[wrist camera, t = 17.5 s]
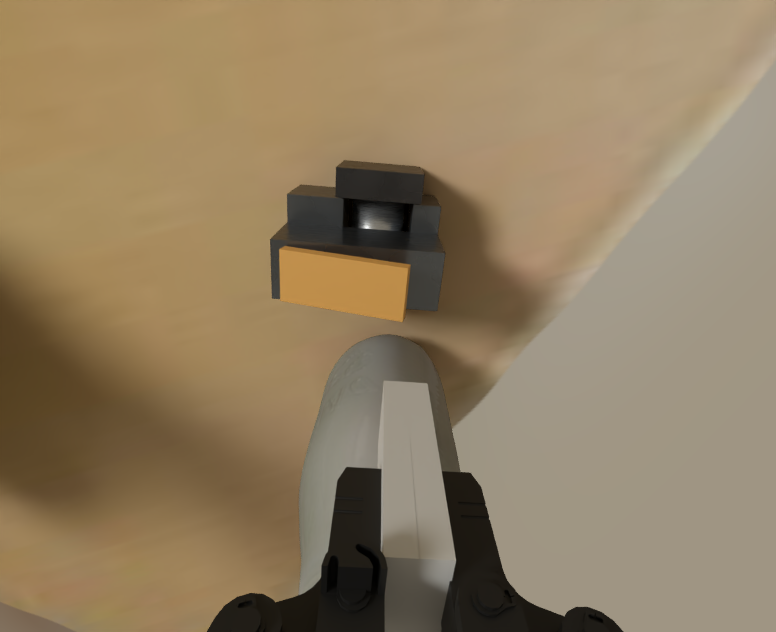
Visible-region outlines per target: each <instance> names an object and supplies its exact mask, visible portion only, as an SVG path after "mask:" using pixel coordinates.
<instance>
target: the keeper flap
mask: <svg viewBox="0 0 776 632" xmlns="http://www.w3.org/2000/svg"><path fill="white" fill-rule="evenodd" d="M279 264H280V301H284V302H290V303H296V304H302V305H307V306H313V307H319V308H324V309H330V310H336V311H342V312H347V313H353V314H359V315H365V316H370V317H376V318H382V319H388V320H393V321H399V322H403V320H404V318H405V314H406V304H407V295H408V285H409V276H410V267H411V265H410V264H403V263H396V262H389V261H383V260H376V259H369V258H363V257H356V256H349V255H343V254H336V253H329V252H322V251H316V250H309V249H302V248H296V247H289V246H284V247H282V248H280V249H279Z"/></svg>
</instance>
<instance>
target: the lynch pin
mask: <svg viewBox="0 0 776 632" xmlns="http://www.w3.org/2000/svg"><path fill="white" fill-rule="evenodd" d="M423 184H424V173H423V171H422V170H421V168H420V167H416V166H405V165H393V164H381V163H370V162H358V161H347V160H344V161H343V162H342V163H341V164H339V165H338V166H337V167H336V193H335V197H338V198H350V199H353V211H352V227H354V228H366V229H378V230H390V231H402V229H403V218H404V208H405V203H410V204H421V202H422V193H423Z"/></svg>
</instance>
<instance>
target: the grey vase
mask: <svg viewBox="0 0 776 632" xmlns="http://www.w3.org/2000/svg"><path fill="white" fill-rule="evenodd" d="M384 381H399V382H415V383H427V384H428V390H429V396H430V403H431V409H432V415H433V421H434V427H435V433H436V440H437V446H438V452H439V458H440V464H441V470H442V471H448V472H460V468H459V462H458V456H457V452H456V447H455V442H454V438H453V433H452V428H451V423H450V419H449V414H448V410H447V405H446V400H445V395H444V391H443V387H442V384H441V380H440V378H439V375H438V373H437V370H436V368H435V366H434V364H433V362H432V361H431V359H430V358H429V356H428V355H427V354H426V352H425V351H424V350H423V348H422V347H421V346H419V345H417V344H416V343H414V342H412V341H410V340H408V339H406V338H404V337H401V336H397V335H390V334H387V335H379V336H374V337H371V338H368V339H365V340H363V341H361V342H359V343H357V344H355V345H354V346H352V347H351V348H350V349H349V350H348V351H346V352H345V353H344V354H343V355H342V357H341V358H340V359H339V360H338V362H337V363H336V364H335V366H334V368H333V369H332V371H331V373H330V375H329V378H328V380H327V383H326V386H325V390H324V393H323V397H322V401H321V405H320V409H319V413H318V416H317V420H316V423H315V426H314V429H313V432H312V436H311V439H310V443H309V446H308V450H307V454H306V458H305V462H304V466H303V470H302V476H301V482H300V490H299V531H300V550H301V572H300V584H299V595H301V594H303V593H305V592H306V591H308V590H309V589H311V588H312V587H313V586H314V585H315V584H316V583H317V582H318V581H319V580H320V578H321V565H322V563H323V560H324V557H325V554H326V553H327V552H328V547H329V540H330V532H331V524H332V517H333V509H334V502H335V494H336V486H337V480H338V479H339V477H340V476H341V474H342V473H343V471H344V470H345V468H346V467H359V468H376V469H378V438H379V427H380V416H381V405H382V394H383V383H384ZM441 632H442V629H441Z"/></svg>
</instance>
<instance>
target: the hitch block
mask: <svg viewBox="0 0 776 632" xmlns="http://www.w3.org/2000/svg"><path fill="white" fill-rule="evenodd" d="M335 193H336V187H324V186H312V185H299V186H298V187H296V188H295V189H294V190H292V191H291V192H289V193H288V194H287V212H288V222H287V223H286V224H285V225H284V226H283V227H282V228H281V229H280V230H279V231H278V232H277V233H276V234H275V235H274V236H273V237H272V238H271V239H270V249H271V281H272V298H273V299H280V264H279V249H280V248H282V247H284V246H289V247H296V248H302V249H309V250H316V251H322V252H329V253H336V254H343V255H349V256H356V257H363V258H369V259H376V260H383V261H389V262H396V263H403V264H410V265H411V267H410V276H409V285H408V295H407V304H406V309H415V310H428V311H437V309H438V302H439V295H440V288H441V280H442V273H443V266H444V259H445V251H444V249H443V246H442V244H441V242H440V239H439V237H438V227H439V220H440V212H441V206H440V204H439V202H438V201H437V199H436V197H435V196H430V195H422V202H421V204H409V214H408V224H407V232H403V231H390V230H378V229H366V228H354V227H348V216H349V198H338V197H335Z"/></svg>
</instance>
